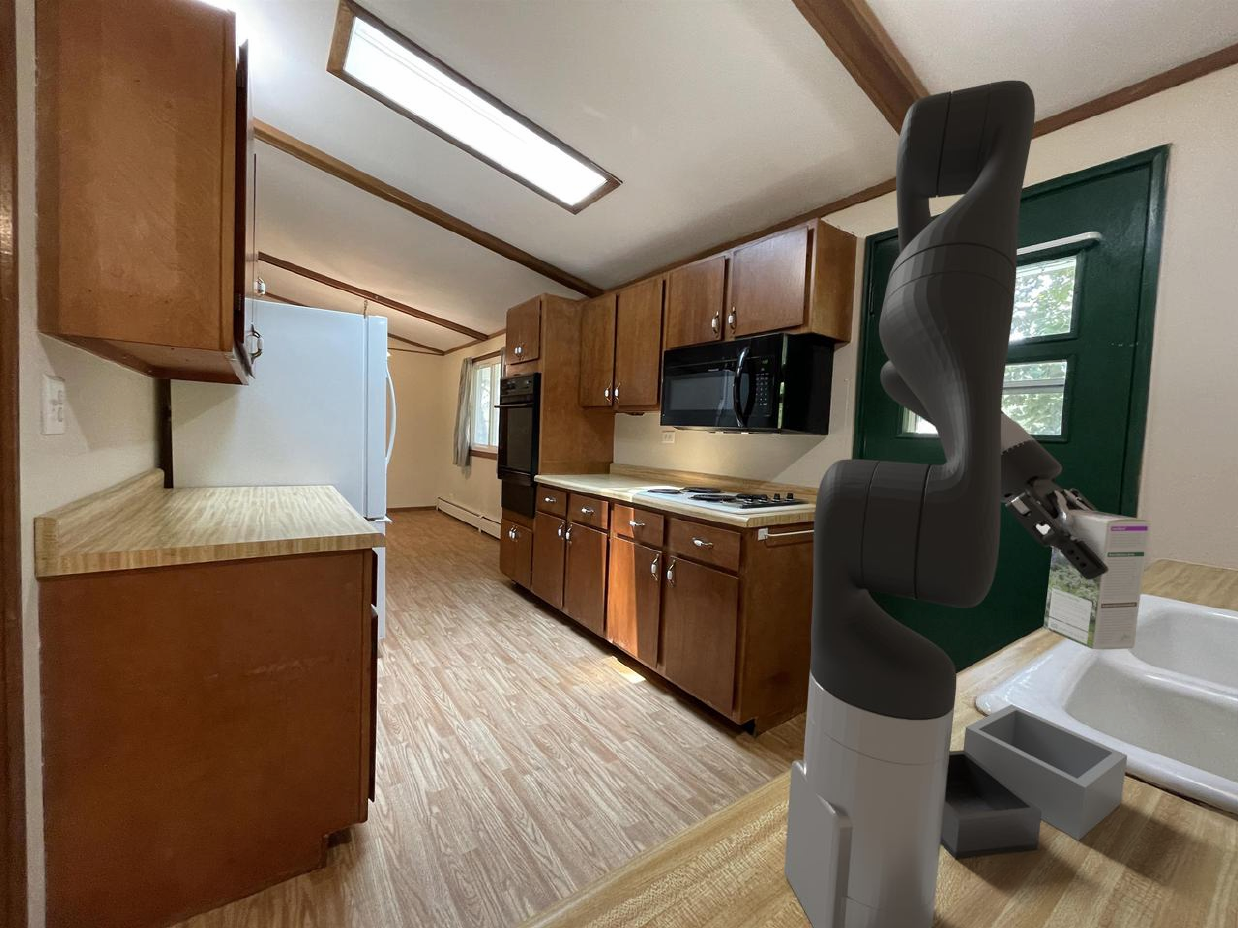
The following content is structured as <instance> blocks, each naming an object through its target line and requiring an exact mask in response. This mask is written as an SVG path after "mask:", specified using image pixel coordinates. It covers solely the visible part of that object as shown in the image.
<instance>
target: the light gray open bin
mask: <svg viewBox="0 0 1238 928" xmlns="http://www.w3.org/2000/svg"><path fill="white" fill-rule="evenodd" d="M964 731H965V732H964V740H963V749H962V750H964V751H966V752H967V753H968V754H969V755H971V756H972V757H973V758H975V759H976V760H977V761H978V762H980V763H981V764H982V765H983V766H985V767H986V768H987V769H988V770H990V771H991V772H992V773H994V774H995V775H996V776H997V777H999V778H1000V779H1001V780H1002V781H1004V782H1005V783H1006V784H1008V785H1009V786H1010V787H1011V788H1013V789H1014V790H1015V791H1016V792H1018V793H1019V794H1020V795H1022V796H1023V797H1024V798H1025V799H1027V800H1028V801H1029V802H1030V803H1032V804H1033V805H1034V806H1036V807H1037V808H1038V809H1039V810H1041V811H1042V814H1041V821H1044V822H1045V823H1047V824H1049V825H1050V826H1052V827H1054V828H1055V829H1058V830H1060V832H1063V833H1064V834H1066V835H1068V836H1069V837H1071V838H1073V839H1074V840H1077V841H1080V840H1081V839H1082V838H1083V837H1085V836H1086V835H1087V834H1088V833H1089V832H1090V831H1091V830H1092V829H1094V828H1095V827H1096V826H1097V825H1098V824H1100V822H1102V821H1103V820H1105V818H1107V817H1108V816H1109V815H1110V814H1111V813H1112V812H1113V811H1115V810H1116V808H1117V807H1119V806H1120V805H1121V804H1122V798H1123V792H1124V791H1123V790H1124V783H1125V775H1126V769H1127V768H1126V767H1127V761H1128V754H1125V753H1123V752H1121V751H1119V750H1116V749H1114V748H1111V747H1109V746H1108V745H1105V744H1103V743H1100V742H1098V741H1095V740H1093V739H1091V738H1089V737H1087V736H1084V735H1082V734H1080V733H1077V732H1075V731H1073V730H1071V729H1068V728H1066V727H1064V726H1061V725H1060V724H1057V723H1055V722H1052V721H1050V720H1048V719H1046V718H1043V717H1041V716H1038V715H1036V714H1034V713H1032V712H1030V711H1028V710H1025V709H1023V708H1021V707H1019V706H1016V705H1013V704H1009V705H1008V706H1005V707H1003V708H1001V709H999V710H997V711H995V712H993V713H991V714H990V715H987V716H985V717H983V718H982V719H978V720H977V721H974V722H973V723H970V724H969V725H967V726H965V730H964Z"/></svg>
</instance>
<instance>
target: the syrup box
mask: <svg viewBox="0 0 1238 928" xmlns="http://www.w3.org/2000/svg"><path fill="white" fill-rule="evenodd" d="M1069 511H1070V513H1071V515H1072V516H1073V518H1074V520H1075V523H1074V524H1073V528H1074V529H1075V531H1076V533H1077V534H1078V536H1079V538H1080V540H1078V541H1077V542H1079V541H1083V542H1084V543H1085V544H1086V545H1087V546H1088V547H1089V548H1090V549H1091V550H1092V551H1093V552H1094V553H1095V554H1096V555H1097V556H1098V558H1099V559H1100V560H1101V561H1102V562H1103V563H1104V564H1105V565H1106V566H1107V567H1108V572H1107V573H1105V574H1102V575H1100V576H1098V577H1096V578H1094V579H1090V580H1089V579H1085V578H1084V577H1083V576H1082V575H1081V574H1080V573H1079V572H1078V571H1077V569H1076V568H1075V567H1074V566H1073V565H1072V564H1071V563H1070V562H1069V561H1068V560H1067V558H1066V557H1065V556H1064V555H1063V554H1062V553H1061V552H1060V551H1061V550H1059V551H1056V550H1054V549H1053V548H1052V551H1051V559H1050V560H1051V561H1050V569H1049V576H1048V587H1047V594H1046V595H1047V596H1046V602H1045V612H1044V620H1043V622H1044V623H1043V628H1044V629H1045V630H1048V631H1049V632H1053V633H1054V634H1056V635H1059V636H1061V637H1064V638H1066V639H1067V640H1070V641H1073V642H1075V643H1078V644H1079V645H1082V646H1085V647H1087V648H1089V649H1092V650H1103V651H1104V650H1125V649H1126V650H1127V649H1134V648H1135V644H1136V636H1137V635H1136V634H1137V624H1138V616H1139V608H1140V601H1141V595H1142V594H1141V593H1142V585H1143V579H1144V572H1145V567H1146V560H1147V559H1146V558H1147V553H1148V546H1149V541H1150V540H1149V539H1150V538H1149V537H1150V531H1151V530H1150V529H1151V520H1147V519H1142V518H1137V517H1131V516H1125V515H1120V514H1114V513H1108V512H1104V511H1103V512H1102V511H1099V510H1098V511H1099V512H1098V511H1091V510H1069Z"/></svg>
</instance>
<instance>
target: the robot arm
mask: <svg viewBox="0 0 1238 928" xmlns="http://www.w3.org/2000/svg"><path fill="white" fill-rule="evenodd" d="M1035 104H1036V103H1035V97H1034V92H1033V90H1032V88H1031V86H1030V85H1029V84H1028V83H1026V81H1023V80H1001V81H996V82H990V83H987V84H981V85H976V86H971V87H967V88H966V87H965V88H961V89H956V90H952V91H951V90H950V91H949V90H948V91H945V92H940V93H935V94H932V95H931V94H930V95H928V96H925V97H922V98H919V99H917V100H915V102H914V103H912V105H910V107H909V108H908V110H907V111H906V115H905V117H904V120H903V122H902V126H901V128H900V129H901V131H900V136H899V140H898V145H897V153H896V154H897V155H896V165H895V166H896V168H895V175H896V176H895V178H896V179H895V180H896V181H895V185H896V188H895V189H896V190H895V191H896V211H897V213H896V214H897V232H898V233H897V235H898V246H899V255H898V257H897V259H896V260H895V262H894V264H893V265H892V269H891V270H890V273H889V276H888V281H887V284H886V289H885V295H884V299H883V303H882V304H883V305H882V308H881V314H880V319H879V325H878V327H879V329H878V332H879V333H878V334H879V338H880V342H881V345H882V348H883V350H884V353H885V355H886V356H887V358H888V361H886V363H885V364H883V366H882V367H881V371H880V383H881V385H882V388H883V390H884V391H885V392H886V394H887V395H888V396H889V397H890V398H891V399H892V400H893V401H895V402H896V403H897V404H898V405H900V406H902V407H903V408H906V409H907V410H908V411H910V412H912V413H913V414H915V415H916V416H918V417H920V418H922V419H923V420H925V421H926V422H928V423H929V424H931V425H932V426H933V427H934V428H935V430H936V431H937V435H938V436H939V440H940V443H941V446H942V448H943V452H944V457H945V460H946V462H945V463H943V464H932V465H931V464H927V463H915V462H902V461H887V460H873V459H871V460H870V459H869V460H868V459H853V458H852V459H850V458H847V459H840V460H837V461H836V462H834V463H832V464H831V465H830V466H829V467H828V468H827V469H826V471H825V473H824V475H823V477H822V478H821V482H820V484H819V488H818V491H817V494H816V502H815V510H814V517H813V519H814V521H813V579H812V580H813V583H812V587H813V588H812V613H811V628H810V629H811V630H810V637H811V638H810V644H811V645H810V646H811V647H810V648H811V649H810V651H811V652H810V653H811V654H810V665H809V679H808V692H807V693H808V694H807V708H806V720H805V733H804V746H803V747H804V748H803V758H802V759H799V760H797V759H796V760H793V761H792V762H791V763H792V764H791V770H790V783H789V795H788V796H789V798H788V812H787V822H786V823H787V826H786V839H785V840H786V841H785V842H786V843H785V852H784V853H785V857H784V865H783V866H784V870H783V871H784V875H785V877H786V879H787V881H788V882H789V884H790V886H791V888H792V890H793V891H794V893H795V895H796V897H797V900H798V901H799V903H800V905H801V907H802V908H803V911H804V912H805V915H806V917H807V918H808V920H809V921H810V923H811V925H812V928H933V925H934V924H933V922H934V913H935V903H936V891H937V881H938V871H939V864H940V863H939V862H940V851H941V833H942V823H943V813H944V803H945V793H946V783H947V772H948V762H949V752H950V751H951V745H952V744H951V743H952V733H953V732H952V731H953V724H954V723H953V722H954V713H955V712H954V711H955V703H956V702H955V701H956V694H957V693H956V692H957V672H956V671H957V670H956V667H955V665H954V663H953V661H952V659H951V658H950V657H949V655H948V654H947V653H946V652H945V651H944V650H943V649H942V648H941V647H939V646H938V645H937V644H935V643H934V642H933V641H931V640H930V639H928V638H926V637H925V636H923V635H921V634H920V633H917V632H916V631H914V630H912V629H911V628H909V627H908V626H906V625H904V624H902V623H901V622H899V621H898V620H896V619H895V618H894V617H893V616H891V615H890V614H888V612H887V611H885V610H883V609H882V607H881V606H880V605H878V603H876V602H875V600H874V599H873V598H872V597H871V595H870V593H869V591H870V592H876V593H881V594H883V595H884V594H885V595H890V596H895V597H899V598H905V599H909V600H914V601H915V600H918V601H919V602H920V601H921V602H925V603H930V604H935V605H940V606H944V607H951V608H960V609H970V608H974V607H976V606H978V605H980V604H981V603H982V602H983V600H985V598H986V597H987V595H988V593H989V591H990V590H991V587H992V585H993V582H994V579H995V575H996V570H997V566H998V559H999V549H1000V540H1001V539H1000V537H1001V512H1002V511H1001V507H1002V504H1001V503H1005V504H1004V505H1005V507H1006V509H1007V510H1008V511H1009V512H1010V513H1011V514H1012V515H1013V516H1014V517H1015V519H1016V520H1017V521H1018V522H1019V523H1020V524H1021V525H1022V526H1023V527H1024V528H1025V529H1026V531H1028V533H1029V534H1030V535H1031V536H1032V537H1033V539H1034V540H1036V542H1037V543H1039V545H1040V546H1042V547H1043V548H1048V547H1051V549H1052V550H1053V549H1054V550H1056V551H1059V550H1061V551H1060V552H1061V553H1062V554H1063V555H1064V556H1065V557H1066V558H1067V560H1068V561H1069V562H1070V563H1071V564H1072V565H1073V566H1074V567H1075V568H1076V569H1077V571H1078V572H1079V573H1080V574H1081V575H1082V576H1083V577H1084V578H1085V579H1089V580H1090V579H1094V578H1096V577H1098V576H1100V575H1102V574H1105V573H1107V572H1108V567H1107V566H1106V565H1105V564H1104V563H1103V562H1102V561H1101V560H1100V559H1099V558H1098V556H1097V555H1096V554H1095V553H1094V552H1093V551H1092V550H1091V549H1090V548H1089V547H1088V546H1087V545H1086V544H1085V543H1084V542H1083V541H1079V542H1077V541H1078V540H1080V538H1079V536H1078V534H1077V533H1076V531H1075V529H1074V528H1073V524H1074V523H1075V520H1074V518H1073V516H1072V515H1071V513H1070V511H1069V510H1091V511H1098V512H1100V511H1099V510H1098V509H1097V508H1096V507H1095V506H1094V505H1093V504H1092V503H1091V502H1090V501H1089V500H1088V499H1087V498H1086V497H1085V496H1084V495H1083V494H1082V493H1081V492H1080V490H1078V489H1076V488H1075V487H1072V488H1070V489H1069V490H1067V489H1063V488H1062V487H1060V486H1059V485H1058V484H1057V483H1055V481H1054V480H1055V478H1056V477H1058V476H1059V475H1060V474H1061V473H1062V470H1063V467H1062V465H1061V464H1060V462H1059V461H1057V459H1056V458H1055V457H1054V456H1053V455H1051V454H1050V453H1049V452H1048V451H1047V450H1046V449H1045V448H1044V447H1043V445H1042V444H1041V443H1039V442H1038V441H1037V440H1036V439H1035V438H1034V437H1032V435H1030V433H1028V431H1027V430H1026V429H1025V428H1023V426H1021V425H1020V424H1019V423H1018V422H1017V421H1015V420H1013V419H1012V418H1011V417H1009V416H1008V415H1007V414H1006V413H1005V412H1004V411H1003V410H1002V407H1003V406H1002V404H1003V403H1002V401H1003V392H1004V391H1003V390H1004V389H1003V388H1004V379H1005V374H1006V372H1005V371H1006V365H1007V357H1008V351H1009V343H1010V336H1011V332H1012V331H1011V330H1012V323H1013V315H1014V305H1015V295H1016V282H1017V267H1018V266H1017V263H1018V261H1017V260H1018V257H1017V256H1018V231H1019V213H1020V205H1021V198H1022V192H1023V187H1024V183H1025V182H1024V181H1025V175H1026V171H1027V167H1028V160H1029V154H1030V149H1031V144H1032V139H1033V134H1034V133H1033V132H1034V126H1035V118H1036V117H1035V116H1036V113H1035V112H1036V107H1035V106H1036V105H1035ZM953 196H954V197H955V196H962V197H960V198H959V199H958V200H957V201H956V202H954V203H953V204H952V205H951V206H949V207H948V208H947V209H946V210H945V211H944V212H942V213H941V214H940V215H938V216H937V217H936V218H935V219H933V218H932V214H931V209H930V199H935V198H945V197H953Z"/></svg>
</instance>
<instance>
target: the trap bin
mask: <svg viewBox="0 0 1238 928" xmlns="http://www.w3.org/2000/svg"><path fill="white" fill-rule="evenodd" d="M1041 814H1042V811H1041V810H1039V809H1038V808H1037V807H1036V806H1034V805H1033V804H1032V803H1030V802H1029V801H1028V800H1027V799H1025V798H1024V797H1023V796H1022V795H1020V794H1019V793H1018V792H1016V791H1015V790H1014V789H1013V788H1011V787H1010V786H1009V785H1008V784H1006V783H1005V782H1004V781H1002V780H1001V779H1000V778H999V777H997V776H996V775H995V774H994V773H992V772H991V771H990V770H988V769H987V768H986V767H985V766H983V765H982V764H981V763H980V762H978V761H977V760H976V759H975V758H973V757H972V756H971V755H969V754H968V753H967V752H966V751H964V750H963V749H962V750H950V752H949V762H948V772H947V783H946V793H945V803H944V813H943V823H942V833H941V843H940V845H942V846H943V848H944V849H945V850H946V851H947V852H948V853H949V854H950V856H952V857H953V858H954V859H955V860H958V859H961V860H962V859H966V858H967V859H968V858H975V857H978V858H979V857H985V856H993V855H1003V854H1011V853H1019V852H1028V851H1035V850H1036V851H1037V850H1038V848H1039V847H1038V846H1039V837H1040V828H1041V823H1042V822H1041V821H1042V819H1041Z"/></svg>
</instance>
